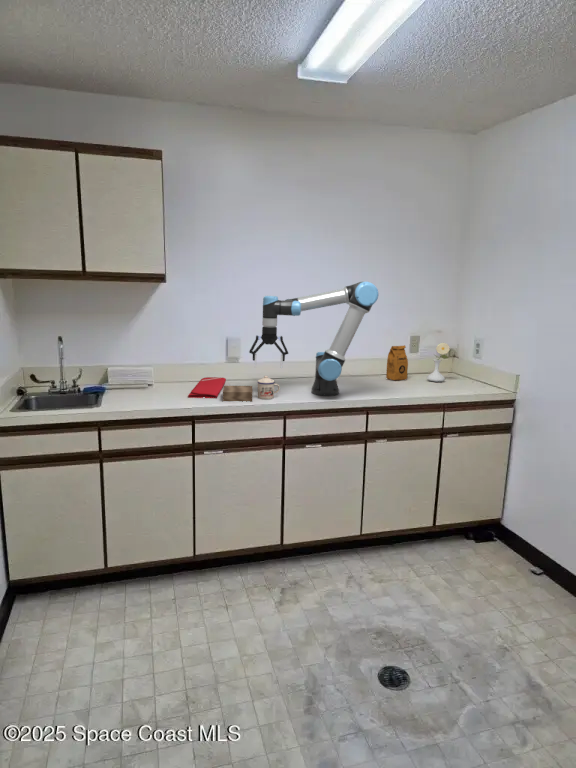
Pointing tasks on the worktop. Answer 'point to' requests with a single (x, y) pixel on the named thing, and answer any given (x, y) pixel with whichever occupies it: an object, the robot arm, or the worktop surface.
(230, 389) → the walnut riser
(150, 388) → the worktop surface
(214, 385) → the dish drying mat
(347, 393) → the worktop surface
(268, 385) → the teacup with lid
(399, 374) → the coffee package
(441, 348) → the flower in vase
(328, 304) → the robot arm
